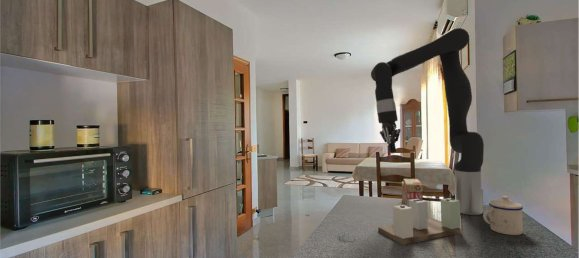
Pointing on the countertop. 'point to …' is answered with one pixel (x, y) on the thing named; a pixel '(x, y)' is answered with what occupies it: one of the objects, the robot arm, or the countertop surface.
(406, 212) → the one dot key
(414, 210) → the three dot key
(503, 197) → the teacup with lid
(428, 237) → the brown wooden board
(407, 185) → the stack of blocks
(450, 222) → the two dot key
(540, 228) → the countertop surface
